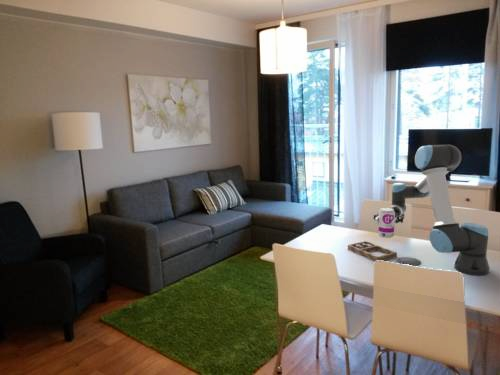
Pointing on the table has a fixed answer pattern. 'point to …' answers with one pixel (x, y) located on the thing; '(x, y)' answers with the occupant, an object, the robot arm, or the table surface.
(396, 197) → the robot arm
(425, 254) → the table surface
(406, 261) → the coaster
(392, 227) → the supplement can
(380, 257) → the parts tray
